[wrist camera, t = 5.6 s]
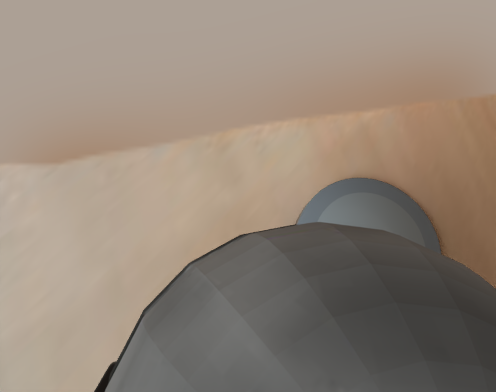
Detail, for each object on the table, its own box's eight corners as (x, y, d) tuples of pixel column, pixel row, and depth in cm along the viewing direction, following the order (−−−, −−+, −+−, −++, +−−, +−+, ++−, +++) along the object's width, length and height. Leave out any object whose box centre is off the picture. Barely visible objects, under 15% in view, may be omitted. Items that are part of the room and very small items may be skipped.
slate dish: (440, 328, 21) (454, 329, 20) (293, 327, 20) (299, 328, 19) (418, 187, 24) (429, 180, 22) (289, 181, 23) (293, 174, 22)
